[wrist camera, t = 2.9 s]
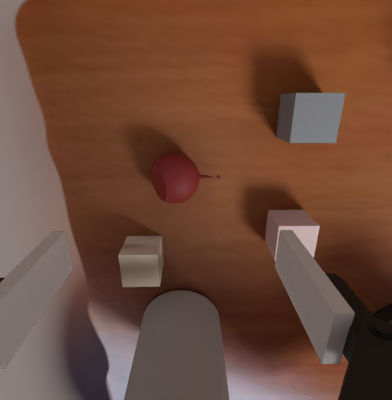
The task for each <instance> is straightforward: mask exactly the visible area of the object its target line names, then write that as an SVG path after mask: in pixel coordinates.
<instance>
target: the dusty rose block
mask: <svg viewBox="0 0 392 400" xmlns="http://www.w3.org/2000/svg"><path fill="white" fill-rule="evenodd" d="M319 228H320V226H319V225H318V223H317V222H316V221H315V220H314V219H313V218H312V217H311V216H310V215H309V214H308V213H307V212H306V211H305V210H268V216H267V226H266V235H265V243H266V245H267V247H268V249H269V251H270V253H271V255H272V257H273V259H274V261H276V254H277V246H278V239H279V232H280V230H293V232H294V233H295V234H296V236H297V237H298V238H299V240H300V241H301V242H302V244H303V245H304V246H305V248H306V249H307V250H308V252H309V253H310V254H311V255H312V257H313V258H314V254H315V249H316V243H317V238H318V233H319Z"/></svg>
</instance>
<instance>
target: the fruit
mask: <svg viewBox="0 0 392 400" xmlns="http://www.w3.org/2000/svg"><path fill="white" fill-rule="evenodd" d="M151 178H152V183H153V186H154V189H155V191H156V193H157V195H158V196H159V198H160V199H161V200H163V201H165V202H168V203H181V202H184V201H186V200H188V199H189V198H190V197H192V195H193V194H194V193H195V192H196V190H197V188H198V185H199V178H214V177H210V176H206V175H199V172H198V169H197V167H196V165H195V164H194V162H193V161H192V160H191V159H190V158H188V157H187V156H185V155H182V154H179V153H170V154H166V155H163V156H162V157H160V158H159V159H157V160H156V161H155V163H154V164H153V166H152V168H151ZM217 178H218V179H220V175H218V176H217Z"/></svg>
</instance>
